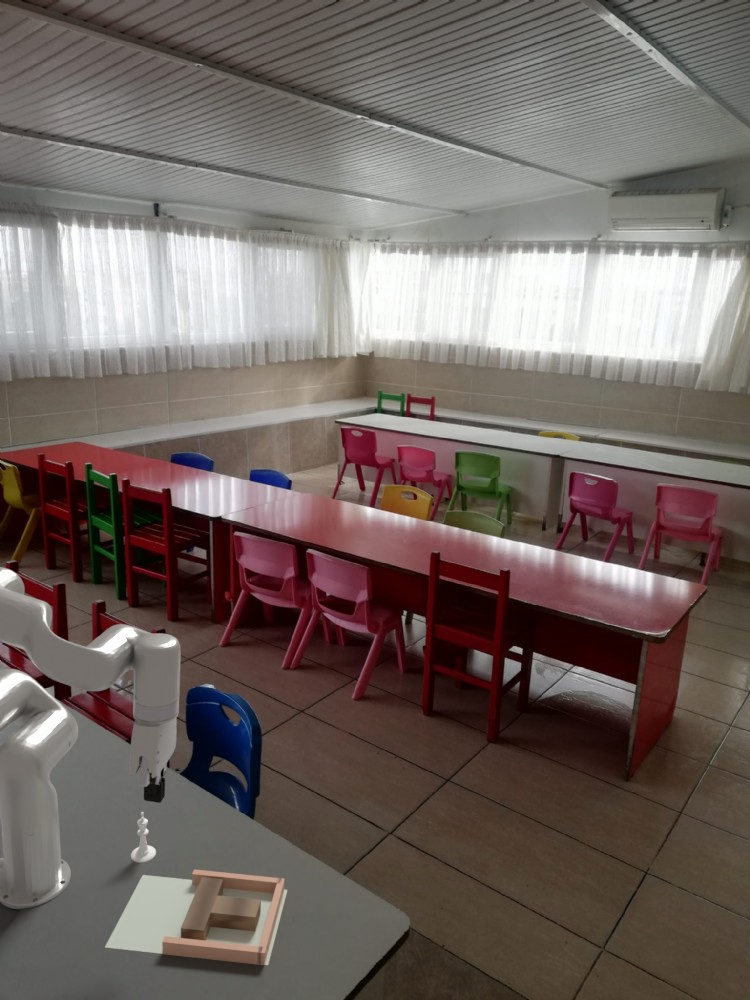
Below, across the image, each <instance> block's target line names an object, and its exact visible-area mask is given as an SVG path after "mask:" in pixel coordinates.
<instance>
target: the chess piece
mask: <svg viewBox="0 0 750 1000" xmlns="http://www.w3.org/2000/svg"><path fill="white" fill-rule="evenodd" d="M136 823H137V826H138V830H137V833H136V834H137V836H138V837H139V844H138V845H139V846H138V847H136V848H135V849H133V850H132V851H131V853H130V859H131V860H132V861H133V862H135V863H139V864H140V863H141V864H142V863H147V862H149V861H151V860H152V859H153V858H155V856H156V854H157V850H156V848H155V847H153V845H148V842H147V837H146V836H147V835H148V834H149V829H148V828H147V826H148V823H149V820H148V818H145V815H144V811H141V812H140V819H138V820H137V822H136Z"/></svg>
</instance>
